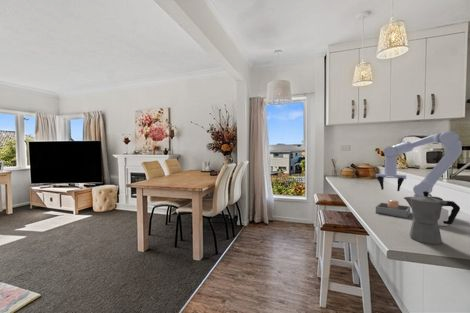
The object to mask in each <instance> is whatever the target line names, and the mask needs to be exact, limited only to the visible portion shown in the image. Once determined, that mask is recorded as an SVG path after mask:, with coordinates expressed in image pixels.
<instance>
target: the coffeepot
mask: <svg viewBox="0 0 470 313" xmlns="http://www.w3.org/2000/svg"><path fill="white" fill-rule="evenodd" d="M423 194H424V196H419V197H414V196H405V197H403V199H404V200H405V201H406V202H407V203H408V205H409V207H410V209H411V213H412V216H413V220H412V223H411V228H410V231H409V237H410V238H411V239H412V240H414V241H416V242H419V243H423V244H428V245H436V246H437V245H441V244H443V239H442V235H441V230H440V226H439V225H438V219H439V218H440V214H441V209H442V208H443V207H451V208H452V209H451V211H450V214H449V215H448V221H443V223H444V224H448V225H452V224H453V223H454V222H455V219H456V218H457V216H458V214H459V212H460V210H461V207H460V206H459V205H458V204H457V203H456V202H455V201H453V200H445V199H444V200H439V199H435V198H432V197H428V194H429V192H427V191H424V192H423ZM442 206H443V207H442Z"/></svg>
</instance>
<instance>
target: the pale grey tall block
mask: <svg viewBox="0 0 470 313" xmlns="http://www.w3.org/2000/svg"><path fill="white" fill-rule="evenodd" d="M428 197H432V198H435V199H439V200H443V198H441V197H438V196H434V195H432V196H428ZM443 207H444V206H442V209H441V214H440V218H439V219H438V225H439V227H440V226H442V227H443V226H444V227H448V226H449V224H444V223H443V221H448V219H449V210H448V209H445V208H443Z"/></svg>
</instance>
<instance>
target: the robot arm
mask: <svg viewBox="0 0 470 313" xmlns="http://www.w3.org/2000/svg"><path fill="white" fill-rule="evenodd" d="M432 143H437V144H442V145H443V146H444V148H445V150H446V153H445V154H444V155H443V156H442V158H441V159H440V160H439V161H438V162H437V163H436V165H435V166H434V167H433V168H432V169H431V171H430V172H429V173H428V174H427V175H426V176H425V177H424V178H423V179H422V180H421V181H420V182H419V183H418V184H415V185H414V186H413V187H412V190H413V193H414V194H413V197H419V196H424V194H423V192H424V191H427V192H429V194H428V196H433V195H432V194H431V193H432V192H433V187H434V186H435V185H436V184H437V182H438V181H439V179H441V177H442V176H443V175H444V174H446V172H447V171H448V169H450V168H451V166H452V165H453V164H454V163H455V162H456V160H458V159H459V158H460V156H461V154H462V153H463V149H462V148H463V146H462V138H461V137H460V135H459V133H456V132H454V131H449V130H447V131H444V132H440V133H439V132H438V133H435V134H432V135H428V136H426V137H423V138H420V139H417V140H414V141H407V140H406V141H405V140H404V141H401V143H398V144H392V146H387V147H385V148H384V149H383V155H384V173H375V178H377V181H378V183H379V184H380V189H381V190H382V191H383V190H384V189H385V188H384V179H385V178H388V179H397V188H396V190H397V192H400V189H401V186H402V184H403V182H404V181H405V180H407V175H406V174H405V175H404V174H397V172H398V171H397V167H398V166H397V164H398V163H397V162H398V160H397V158H398V157H397V156H398V155H402V154H405V153H409V152H412V151H413V150H414V149H415V148H417V147H420V146H421V147H422V146H425V145H428V144H432Z"/></svg>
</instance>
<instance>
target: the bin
mask: <svg viewBox="0 0 470 313" xmlns="http://www.w3.org/2000/svg"><path fill="white" fill-rule="evenodd" d="M375 213H376V214H379V215H386V216H390V217H391V216H393V217H397V218H403V219H408V217H409V216H410V214H411V207H410V205H409V206H408V205H400V204H398V210H397V209H391V208H388V202H380V203H378V204H377V205H376V206H375Z"/></svg>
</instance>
